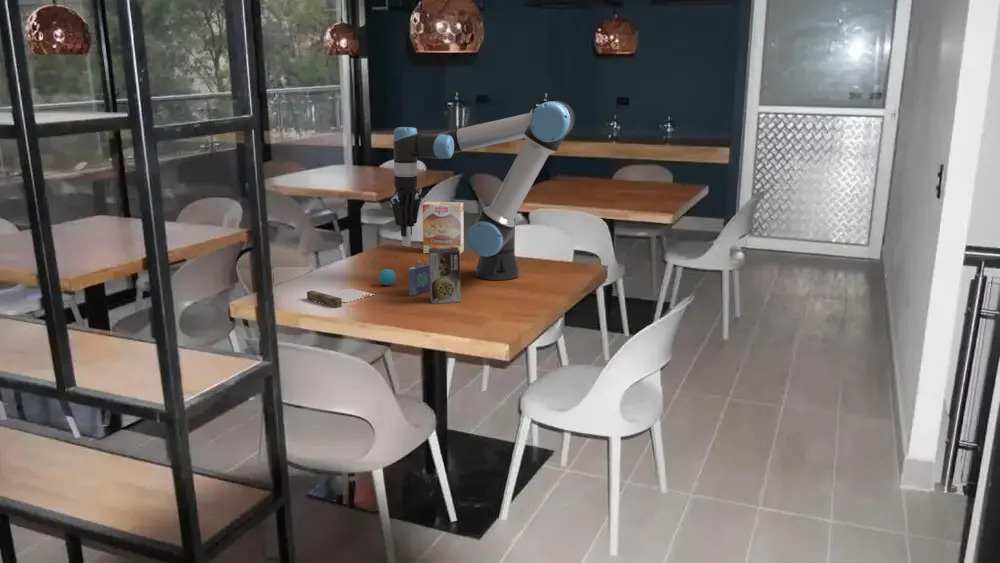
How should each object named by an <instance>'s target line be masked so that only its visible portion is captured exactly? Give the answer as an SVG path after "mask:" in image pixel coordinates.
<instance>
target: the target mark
mask: <svg viewBox="0 0 1000 563" xmlns="http://www.w3.org/2000/svg"><path fill="white" fill-rule="evenodd" d="M326 294H327V295H331V296H335V297H338V298H341V299H342V303H343V302H345V303H344V304H346V302H348V303H350V301H351V302H355V301H357V299H359V300H361V299H360V298H362V299H365V298H364V297H362V295H364V296H365V295H366V294H367V295H368V294H369V295H370V297H373V296H372V295H374V296H375V295H376V294H374V293H371V292H367V291H363V290H358V289H355V288H351V287H350V288H345V289H341V290H337V291H333V292H329V293H326ZM354 300H355V301H354Z"/></svg>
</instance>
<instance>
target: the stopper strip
mask: <svg viewBox="0 0 1000 563" xmlns="http://www.w3.org/2000/svg"><path fill="white" fill-rule="evenodd" d="M327 294H328V293H323V292H319V291H316V290H308V291H306V298H307V299H309V300H308V301H311V300H313V301H312V302H314V301H316V302H315V303H318V302H320V303H319V304H321V303H323V305H325V304H326V305H325V306H328V305H330V306H329V307H332V306H333V308H336V309H337V307H338V308H341V307H343V304H342V303H343V302H342V299H341V298H338V297H335V296H331V295H327Z"/></svg>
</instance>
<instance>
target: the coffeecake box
mask: <svg viewBox="0 0 1000 563" xmlns="http://www.w3.org/2000/svg"><path fill="white" fill-rule="evenodd" d="M464 215H465V214H464V202H457V201H455V202H450V201H449V202H448V201H445V202H444V201H426V202H423V204H422V245H423V246H422V248H423V252H422V253H423V254H425V253H429V248H449V247H457V248H458V249H459V251H460V254H461V253H463V252H464V251H465V250H464V246H465V245H464V244H465V242H464V241H465V240H464V238H465V237H464V233H465V232H464V231H465V230H464V225H465V224H464Z"/></svg>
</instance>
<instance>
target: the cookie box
mask: <svg viewBox="0 0 1000 563" xmlns="http://www.w3.org/2000/svg"><path fill="white" fill-rule="evenodd" d="M428 260H429V261H428V264H429V270H430V292H429V298H430V302H431V304H433V305H434V304H448V303H450V304H451V303H461V302H462V298H461V296H462V293H461V292H462V291H461V290H462V288H461V255H460V251H459V249H458V248H457V247H449V248H429V254H428Z"/></svg>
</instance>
